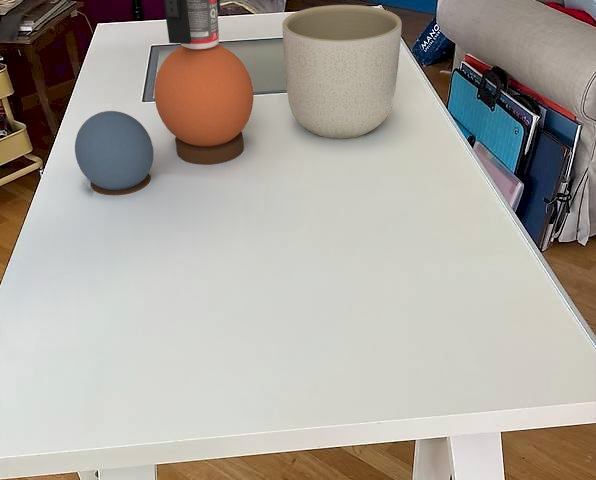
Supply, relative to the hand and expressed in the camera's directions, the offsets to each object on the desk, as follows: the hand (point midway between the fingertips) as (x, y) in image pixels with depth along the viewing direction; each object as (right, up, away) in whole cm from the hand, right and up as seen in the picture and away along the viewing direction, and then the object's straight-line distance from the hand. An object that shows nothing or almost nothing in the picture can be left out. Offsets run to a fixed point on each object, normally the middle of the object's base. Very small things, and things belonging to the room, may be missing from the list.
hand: (196, 26), depth 96 cm
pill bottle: (0, -2, +2) cm, 2 cm away
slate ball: (-10, -22, +2) cm, 24 cm away
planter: (+20, -7, +17) cm, 27 cm away
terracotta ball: (+1, -13, +12) cm, 17 cm away
